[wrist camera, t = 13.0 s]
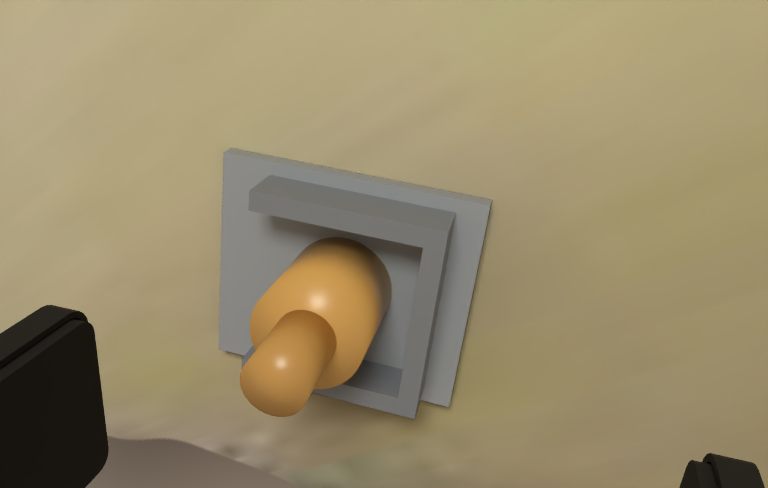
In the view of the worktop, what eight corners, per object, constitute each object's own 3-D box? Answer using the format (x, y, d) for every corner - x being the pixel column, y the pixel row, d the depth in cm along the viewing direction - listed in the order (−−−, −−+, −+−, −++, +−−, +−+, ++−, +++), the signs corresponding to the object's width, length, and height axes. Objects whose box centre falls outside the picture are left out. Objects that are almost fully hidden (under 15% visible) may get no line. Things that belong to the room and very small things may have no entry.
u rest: (492, 200, 38) (485, 225, 34) (451, 398, 44) (441, 437, 40) (230, 148, 40) (199, 166, 37) (225, 341, 46) (197, 373, 43)
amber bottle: (398, 249, 39) (345, 345, 29) (384, 340, 42) (331, 456, 32) (296, 227, 40) (212, 312, 30) (289, 317, 43) (209, 422, 33)
